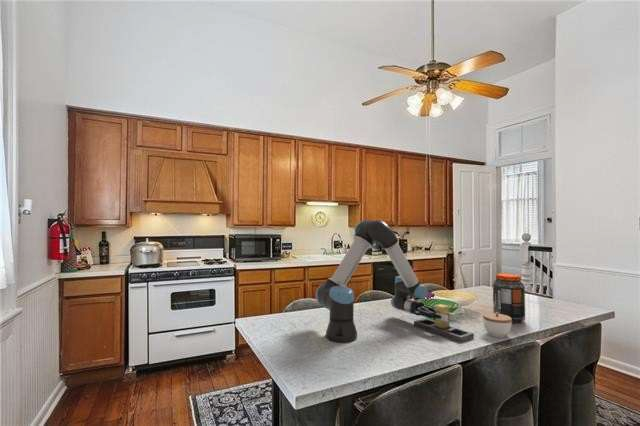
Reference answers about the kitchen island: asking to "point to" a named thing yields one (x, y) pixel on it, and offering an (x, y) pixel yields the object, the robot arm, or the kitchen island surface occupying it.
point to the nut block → (445, 311)
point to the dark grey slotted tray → (444, 331)
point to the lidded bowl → (497, 324)
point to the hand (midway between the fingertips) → (451, 317)
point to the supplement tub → (509, 296)
